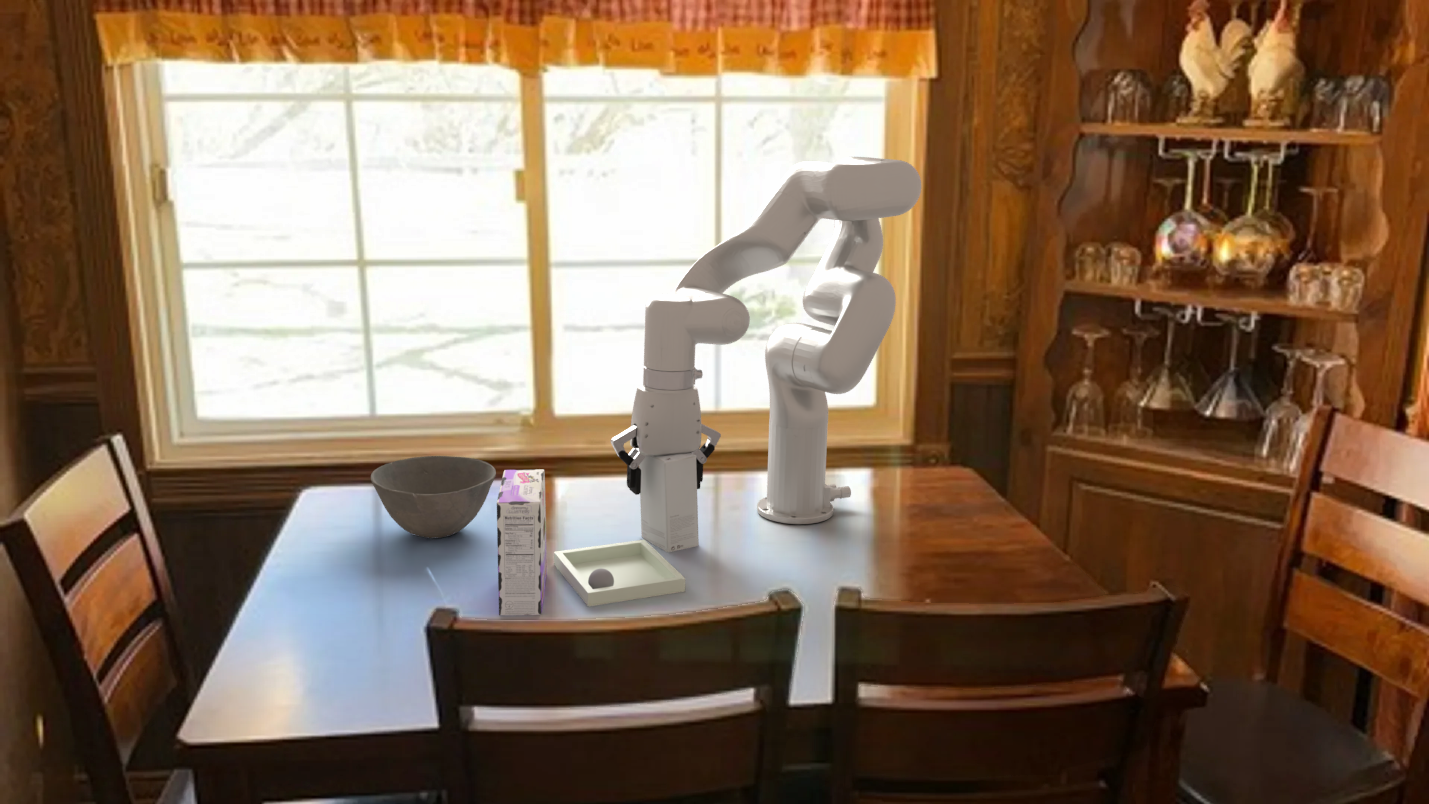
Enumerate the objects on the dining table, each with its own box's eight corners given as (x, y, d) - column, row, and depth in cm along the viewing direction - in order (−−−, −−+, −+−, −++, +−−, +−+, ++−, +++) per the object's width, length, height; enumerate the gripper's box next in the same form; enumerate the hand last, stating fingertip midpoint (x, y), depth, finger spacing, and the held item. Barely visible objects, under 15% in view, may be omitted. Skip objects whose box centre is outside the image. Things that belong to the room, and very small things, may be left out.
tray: (644, 555, 184) (644, 539, 183) (685, 595, 169) (685, 578, 169) (554, 567, 178) (553, 551, 177) (588, 610, 164) (588, 593, 163)
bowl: (370, 559, 180) (366, 495, 177) (377, 516, 198) (374, 457, 195) (499, 552, 184) (498, 488, 181) (495, 510, 201) (493, 452, 199)
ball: (609, 586, 170) (609, 563, 169) (617, 596, 167) (617, 572, 166) (585, 590, 169) (584, 566, 168) (593, 599, 166) (592, 575, 165)
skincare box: (699, 549, 186) (700, 455, 183) (665, 556, 183) (666, 461, 179) (670, 532, 193) (671, 441, 189) (637, 539, 190) (637, 447, 186)
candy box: (506, 578, 174) (503, 468, 170) (547, 578, 174) (546, 467, 170) (497, 620, 161) (494, 500, 156) (542, 619, 161) (541, 500, 157)
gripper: (712, 371, 188) (707, 477, 192) (604, 376, 181) (602, 486, 185) (732, 381, 182) (726, 491, 186) (621, 387, 175) (618, 501, 179)
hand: (664, 489), depth 185 cm, fingers open, 9 cm apart
